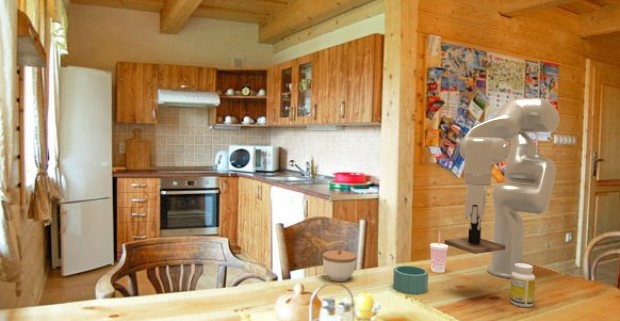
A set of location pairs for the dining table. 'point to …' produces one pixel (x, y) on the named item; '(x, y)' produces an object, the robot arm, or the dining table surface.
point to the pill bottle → (522, 285)
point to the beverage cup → (438, 256)
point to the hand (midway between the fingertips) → (474, 241)
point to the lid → (475, 245)
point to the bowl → (410, 279)
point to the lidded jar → (339, 264)
